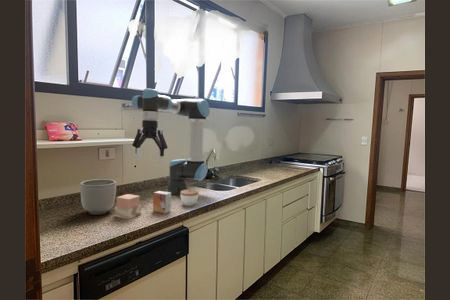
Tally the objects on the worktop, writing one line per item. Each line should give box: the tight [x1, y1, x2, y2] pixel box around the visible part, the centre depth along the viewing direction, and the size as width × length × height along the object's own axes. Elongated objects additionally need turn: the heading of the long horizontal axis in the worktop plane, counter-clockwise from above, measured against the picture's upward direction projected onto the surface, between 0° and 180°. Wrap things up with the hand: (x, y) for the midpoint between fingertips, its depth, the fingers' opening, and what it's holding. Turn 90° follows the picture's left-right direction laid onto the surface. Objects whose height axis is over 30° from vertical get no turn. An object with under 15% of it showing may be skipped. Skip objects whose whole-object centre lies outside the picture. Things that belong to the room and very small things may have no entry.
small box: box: [152, 190, 172, 214], centre depth 153 cm, size 8×6×10 cm
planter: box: [79, 178, 117, 216], centre depth 147 cm, size 17×17×16 cm
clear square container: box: [114, 204, 142, 220], centre depth 145 cm, size 9×9×5 cm
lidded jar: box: [180, 188, 199, 207], centre depth 169 cm, size 11×11×9 cm
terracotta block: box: [115, 193, 141, 209], centre depth 144 cm, size 8×8×5 cm
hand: (149, 161), depth 145 cm, fingers open, 13 cm apart
